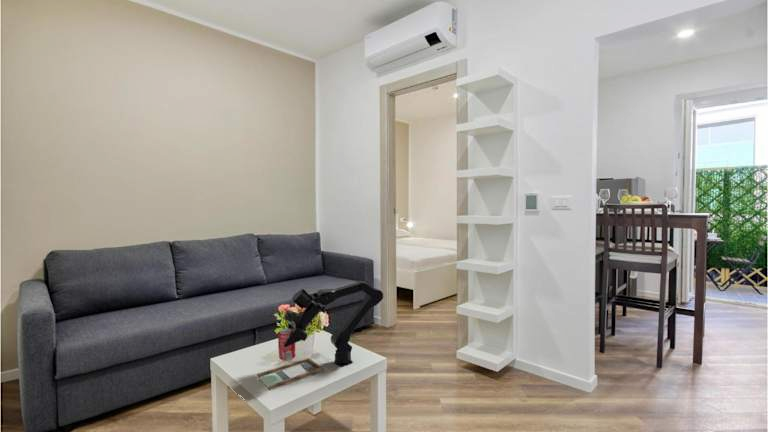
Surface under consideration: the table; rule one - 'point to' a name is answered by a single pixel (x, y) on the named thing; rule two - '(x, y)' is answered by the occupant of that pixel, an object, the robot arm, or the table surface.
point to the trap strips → (305, 365)
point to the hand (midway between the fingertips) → (283, 343)
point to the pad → (270, 379)
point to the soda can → (288, 351)
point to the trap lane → (293, 377)
